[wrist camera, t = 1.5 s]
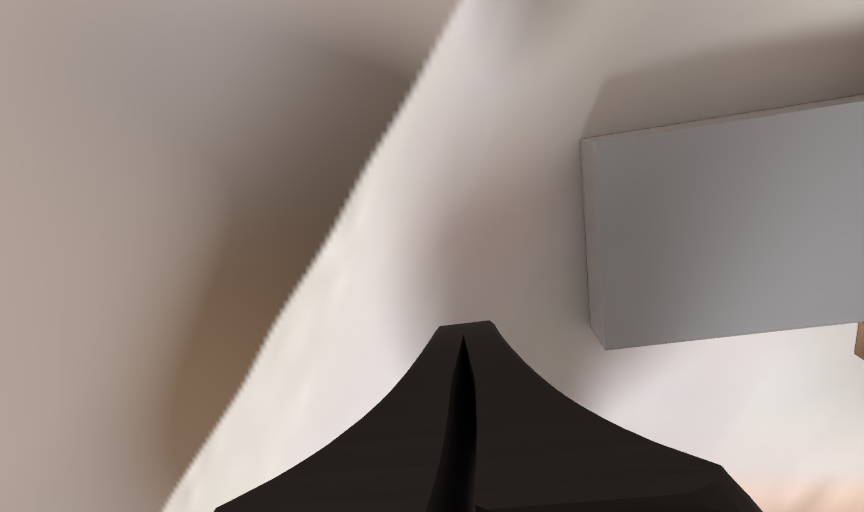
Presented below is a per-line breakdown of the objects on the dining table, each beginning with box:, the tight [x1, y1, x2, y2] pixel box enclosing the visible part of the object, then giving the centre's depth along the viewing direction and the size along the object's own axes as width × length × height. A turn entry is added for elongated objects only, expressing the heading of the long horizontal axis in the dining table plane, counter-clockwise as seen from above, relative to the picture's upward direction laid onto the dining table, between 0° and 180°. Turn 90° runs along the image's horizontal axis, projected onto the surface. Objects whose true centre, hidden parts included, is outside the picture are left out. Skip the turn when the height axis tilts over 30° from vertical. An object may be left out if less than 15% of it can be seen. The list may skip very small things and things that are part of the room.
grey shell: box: [580, 94, 864, 350], centre depth 16 cm, size 8×10×2 cm
